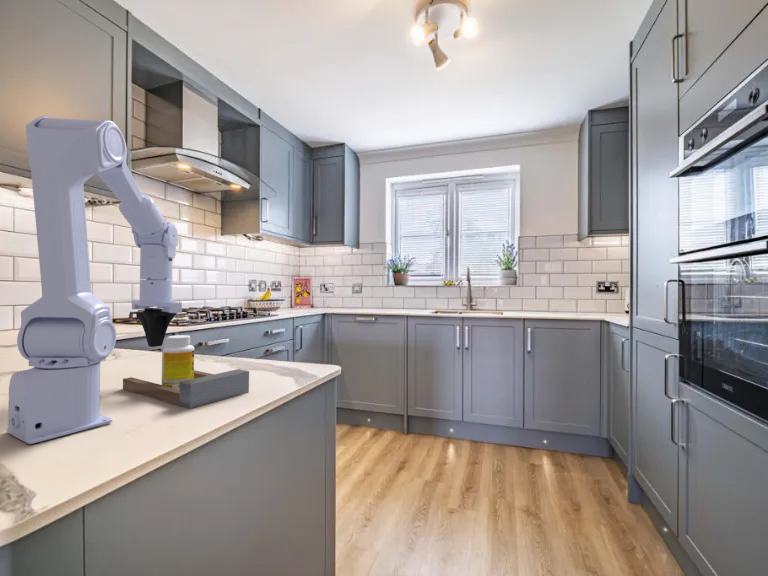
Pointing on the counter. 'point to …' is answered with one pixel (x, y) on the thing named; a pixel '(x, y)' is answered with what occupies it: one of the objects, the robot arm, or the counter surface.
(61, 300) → the robot arm
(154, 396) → the guide rails
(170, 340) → the supplement bottle
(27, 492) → the counter surface
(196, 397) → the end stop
